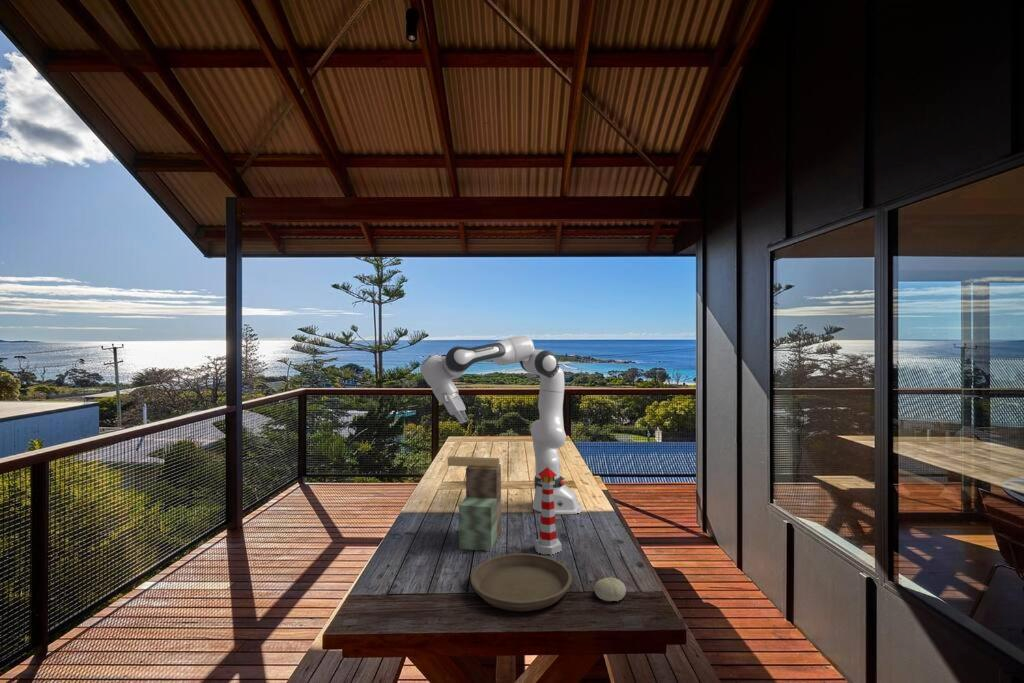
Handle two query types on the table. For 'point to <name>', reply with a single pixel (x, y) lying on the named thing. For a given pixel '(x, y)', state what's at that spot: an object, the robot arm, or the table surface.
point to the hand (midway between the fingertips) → (465, 422)
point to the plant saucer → (521, 581)
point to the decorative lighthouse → (547, 517)
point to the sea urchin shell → (610, 589)
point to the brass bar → (473, 462)
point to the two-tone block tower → (480, 509)
